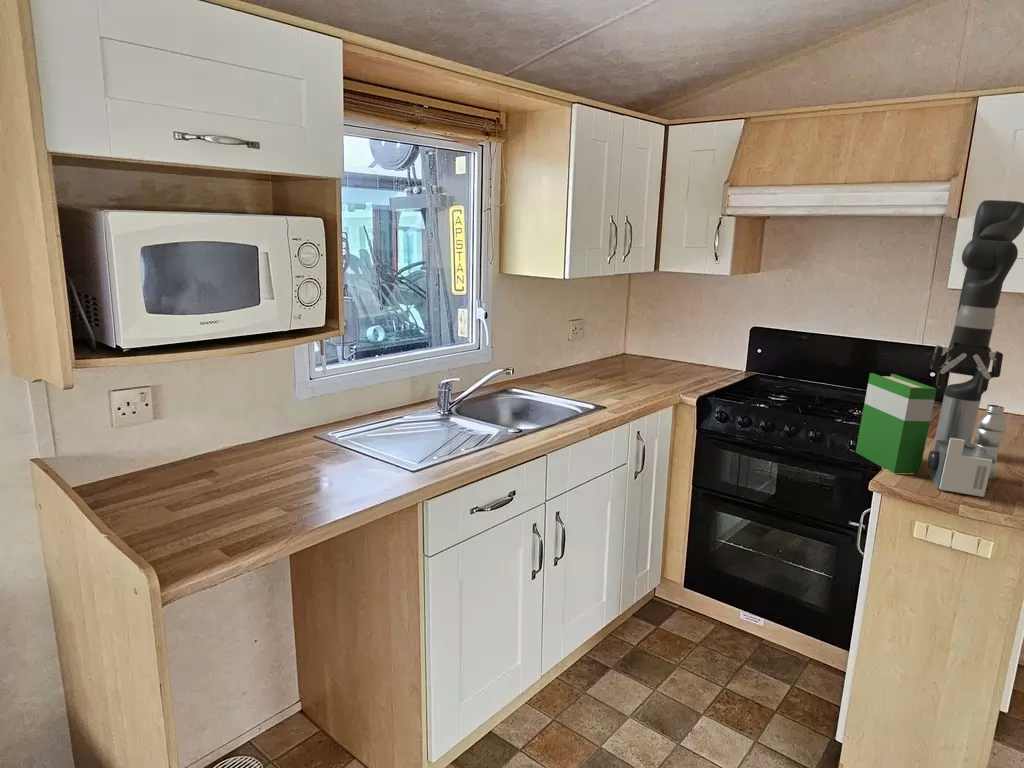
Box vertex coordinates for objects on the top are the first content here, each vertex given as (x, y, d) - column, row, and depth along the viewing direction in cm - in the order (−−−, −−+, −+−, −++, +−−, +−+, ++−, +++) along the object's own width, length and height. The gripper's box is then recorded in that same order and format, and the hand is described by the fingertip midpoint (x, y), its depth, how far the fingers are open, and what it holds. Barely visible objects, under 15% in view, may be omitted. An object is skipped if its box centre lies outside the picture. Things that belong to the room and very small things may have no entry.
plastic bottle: (966, 470, 192) (982, 401, 187) (995, 477, 188) (1012, 406, 183) (963, 476, 187) (979, 405, 182) (993, 483, 183) (1010, 411, 178)
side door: (939, 488, 175) (950, 437, 172) (982, 495, 172) (994, 444, 169) (939, 489, 174) (950, 438, 171) (984, 497, 171) (996, 445, 168)
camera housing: (922, 473, 187) (930, 435, 185) (971, 481, 183) (980, 443, 180) (930, 488, 176) (939, 448, 174) (983, 497, 172) (992, 456, 170)
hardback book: (855, 452, 203) (869, 373, 197) (878, 452, 203) (893, 374, 198) (893, 473, 186) (910, 387, 180) (919, 474, 186) (936, 388, 181)
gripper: (1004, 326, 165) (989, 391, 169) (937, 320, 170) (924, 383, 174) (1014, 330, 159) (998, 398, 162) (943, 323, 163) (930, 389, 167)
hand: (959, 390), depth 168 cm, fingers open, 8 cm apart
